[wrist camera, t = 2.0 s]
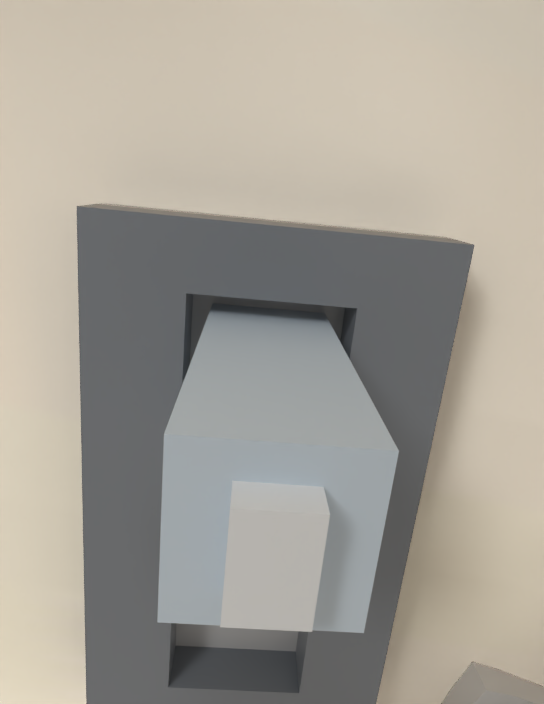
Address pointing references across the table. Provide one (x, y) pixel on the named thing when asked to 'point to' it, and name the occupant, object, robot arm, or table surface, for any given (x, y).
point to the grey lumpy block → (493, 688)
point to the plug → (272, 479)
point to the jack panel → (159, 400)
